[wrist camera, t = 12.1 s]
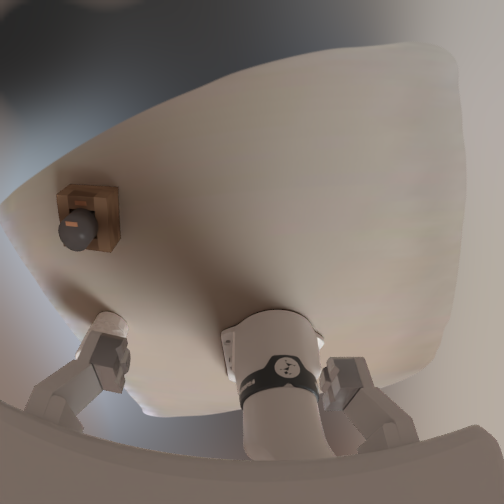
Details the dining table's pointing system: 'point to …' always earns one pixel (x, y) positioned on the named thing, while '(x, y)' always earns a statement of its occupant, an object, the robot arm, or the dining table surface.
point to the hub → (104, 207)
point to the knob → (78, 229)
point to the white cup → (107, 326)
